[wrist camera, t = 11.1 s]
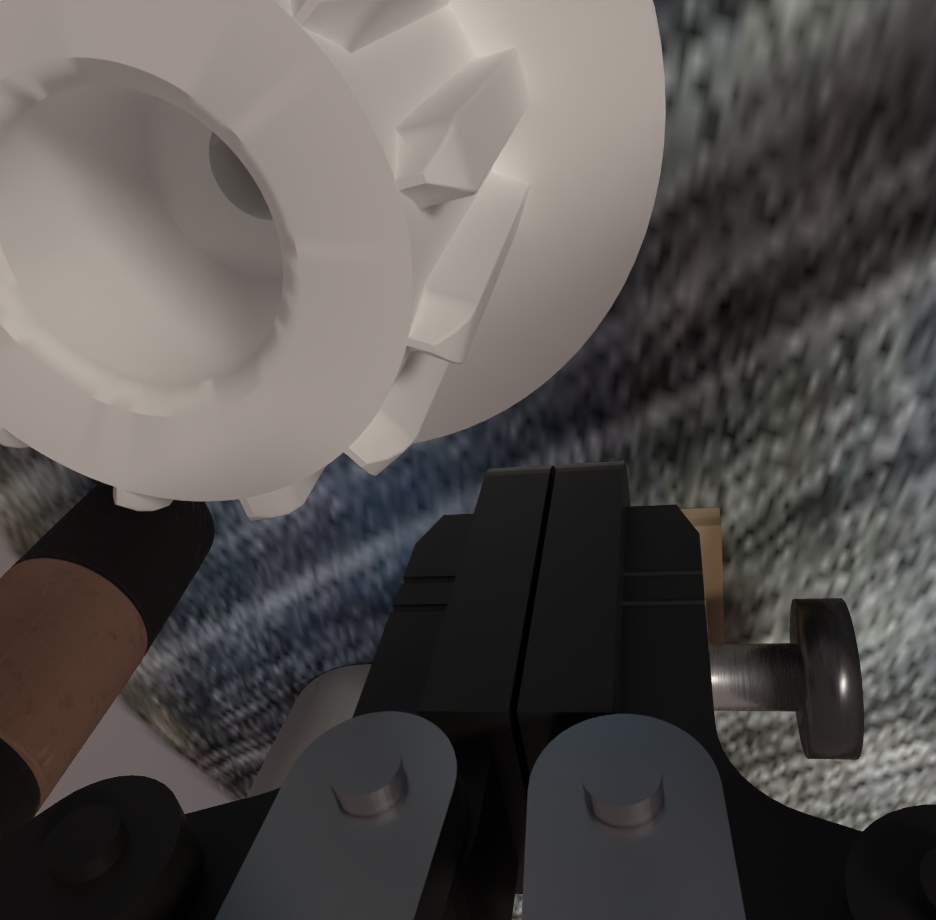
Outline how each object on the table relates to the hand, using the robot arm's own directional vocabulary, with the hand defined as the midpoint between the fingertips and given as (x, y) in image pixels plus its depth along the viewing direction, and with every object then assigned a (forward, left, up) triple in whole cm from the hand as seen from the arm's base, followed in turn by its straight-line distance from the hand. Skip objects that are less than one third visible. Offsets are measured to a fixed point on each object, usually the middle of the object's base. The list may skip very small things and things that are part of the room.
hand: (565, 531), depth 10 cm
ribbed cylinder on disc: (+11, -1, -29) cm, 31 cm away
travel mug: (+28, +19, -29) cm, 45 cm away
